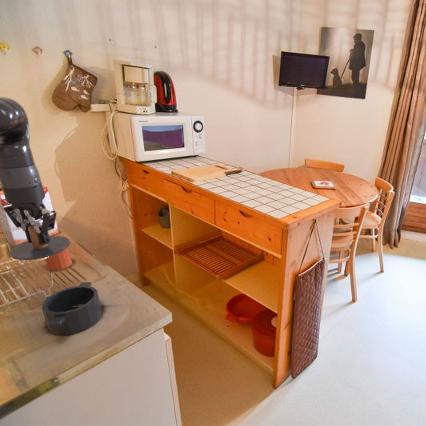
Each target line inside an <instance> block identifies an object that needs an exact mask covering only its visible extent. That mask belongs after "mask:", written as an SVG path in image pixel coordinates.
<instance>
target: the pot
mask: <svg viewBox="0 0 426 426" xmlns="http://www.w3.org/2000/svg"><path fill="white" fill-rule="evenodd" d="M102 310H103V309H102V305H101V301H100V296H99V292H98V290H97V289H96V287H94V286H92V282H91V281H85V282H84V281H83V282H80V284H79V285H76V286H75V285H74V286H70V287H66V288H64V289H61V290H59V291H57V292H54V293H53V294H51V295H50V296H48V297H47V298H46V299H45V300H44V301H43V302H42V305H41V311H42V313H43V316H44V319H45V322H46V326H47V329H48V330H49V332H50V333H51V334H53V335H54V336H62V337H63V336H71V335H76V334H78V333H81V332H84V331H86V330H89V329H90V328H92V327H93V326H94V325H96V324H97V323H98V322H100V320H101V318H102V316H103V311H102Z"/></svg>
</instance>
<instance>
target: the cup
mask: <svg viewBox="0 0 426 426" xmlns="http://www.w3.org/2000/svg"><path fill="white" fill-rule="evenodd" d="M44 261H45V265H46V267H47V270H49V271H60V270H65V269H66V268H67V269H68V268H69V267H70V266H71V265H72V264H73V260H72V256H71V253H70V248H69V246H68V247H67V248H66V249H65V250H63V251H61V252H59V253H57V254H55V255H52V256H49V258H47V259H45V258H44Z"/></svg>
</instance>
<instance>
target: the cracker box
mask: <svg viewBox="0 0 426 426" xmlns="http://www.w3.org/2000/svg"><path fill="white" fill-rule="evenodd" d="M42 186H43V190H44V193H45V198H44V199H43V204H44V205H45V207H46V209H47V210H49V211H54V209H53V208H54V207H53V204H52V201H51V197H50V193H49V188H48V186H46V185H45V184H42ZM10 205H12V204H10V203H8V202H7V201H6V199H5V196H4V193H3V190H0V222H1V227H2V229H3V231H4V234H5V237H6V240H7V243H8V244H10V245H11V246H13V247H15V246H16V245H18V244H20V243H22V242H25V241H28V240H27V237H26V234H25V231H23V230H22V228H20V227H19V228H17V227H16V226H15V225H14V223H13V222H12V220H11V219H10V218H9V216H8V215H7V213H6V212H5V210H4V207H7V206H10ZM14 214H15V213H14ZM16 219H17V220H18V218H16ZM38 220H40V219H38ZM38 220H35V221H38ZM28 223H29V222H28ZM40 225H42V224H40ZM59 233H60V232H59V229H58V224H57V220H56V219H55V226H54V229H51V230H49V231H48V234H49V236H55V235H56V234H59Z"/></svg>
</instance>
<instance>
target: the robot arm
mask: <svg viewBox="0 0 426 426" xmlns="http://www.w3.org/2000/svg"><path fill="white" fill-rule="evenodd" d="M30 137H31V136H30V123H29V118H28V115H27V112H26V110H25V109H24V107H23V106H22V105H21V104H20V102H18V101H16V100H14V99H12V98H10V97H4V96H0V186H1V189H2V190H1V191H3V193H4V196H5V199H6V201H7V202H8V203H10V204H12V205H10V206H7V207H4V210H5V212H6V213H7V215H8V216H9V218H10V219H11V220H12V222H13V223H14V225H15V226H16V227H17V228H19V227H20V228H22V230H23V231H25V234H26V237H27V240H28V242H29V243H32V241H31V238H30V235H29V232H28V227H29V226H34V227H35V229H36V232H37V236H38V239H39V243H40V245H45V244H48V243H49V242H50V237H49V234H48V231H49V230H51V229H54V226H55V220H56V219H57V212H56V210H53V211H49V210H47V209H46V207H45V205H44V204H43V199H44V198H45V193H44V190H43V186H42V185H43V183H42V178H41V175H40V172H39V169H38V168H37V165H36V163H35V158H34V155H33V151H32V148H31V146H30V145H31V144H30V139H31V138H30ZM14 213H15V214H14ZM16 218H18V220H17V219H16ZM38 219H40V220H38ZM35 220H38V221H35ZM28 222H29V223H28ZM40 224H42V227H41V228H40V226H39V225H40Z"/></svg>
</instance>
